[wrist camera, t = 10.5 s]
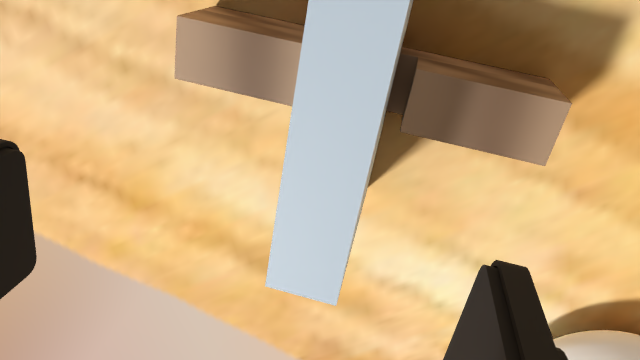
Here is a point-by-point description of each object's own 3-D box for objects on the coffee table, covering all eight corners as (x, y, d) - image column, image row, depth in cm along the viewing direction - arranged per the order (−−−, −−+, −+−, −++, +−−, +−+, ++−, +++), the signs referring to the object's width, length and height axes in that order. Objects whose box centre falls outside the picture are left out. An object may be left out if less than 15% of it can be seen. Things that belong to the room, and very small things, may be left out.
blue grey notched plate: (319, 176, 30) (265, 286, 20) (368, -81, 23) (323, -104, 14) (367, 187, 29) (336, 305, 20) (430, -70, 23) (430, -84, 13)
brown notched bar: (211, 60, 28) (174, 78, 24) (214, 6, 27) (176, 15, 23) (527, 133, 26) (545, 166, 22) (548, 78, 25) (571, 103, 21)
